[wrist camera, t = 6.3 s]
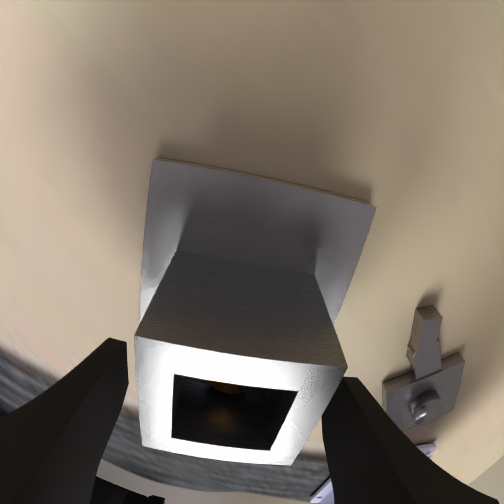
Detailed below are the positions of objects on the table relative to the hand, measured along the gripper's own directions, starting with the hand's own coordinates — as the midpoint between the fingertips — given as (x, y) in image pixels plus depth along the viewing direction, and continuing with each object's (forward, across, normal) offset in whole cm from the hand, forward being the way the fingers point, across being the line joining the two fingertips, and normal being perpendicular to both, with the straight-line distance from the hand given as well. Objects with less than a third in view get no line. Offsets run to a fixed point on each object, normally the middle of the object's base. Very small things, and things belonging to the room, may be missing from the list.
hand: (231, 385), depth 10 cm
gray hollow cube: (+3, 0, 0) cm, 3 cm away
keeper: (+4, 0, 0) cm, 4 cm away
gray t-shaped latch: (+4, -11, +2) cm, 12 cm away
